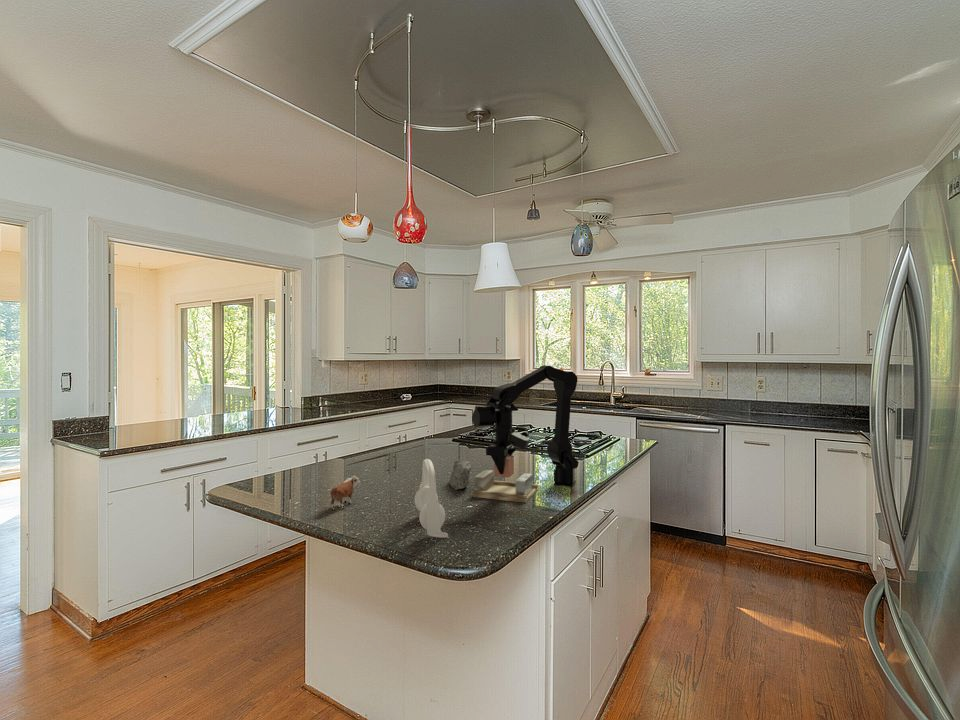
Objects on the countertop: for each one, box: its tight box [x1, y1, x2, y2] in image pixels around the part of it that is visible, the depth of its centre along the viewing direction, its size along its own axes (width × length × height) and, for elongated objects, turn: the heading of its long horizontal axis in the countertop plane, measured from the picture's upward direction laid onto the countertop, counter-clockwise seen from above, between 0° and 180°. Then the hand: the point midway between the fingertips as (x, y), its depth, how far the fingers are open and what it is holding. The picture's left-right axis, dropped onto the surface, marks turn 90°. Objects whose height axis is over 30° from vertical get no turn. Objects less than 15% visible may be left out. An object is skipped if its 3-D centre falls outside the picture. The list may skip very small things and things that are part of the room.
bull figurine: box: [330, 475, 361, 508], centre depth 155 cm, size 4×13×8 cm, turn 161°
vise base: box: [471, 469, 539, 503], centre depth 165 cm, size 18×14×6 cm
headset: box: [414, 458, 449, 539], centre depth 136 cm, size 20×7×18 cm, turn 12°
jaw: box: [515, 472, 534, 495], centre depth 163 cm, size 3×10×5 cm, turn 158°
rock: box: [449, 459, 472, 491], centre depth 175 cm, size 15×8×10 cm, turn 178°
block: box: [494, 455, 515, 478], centre depth 165 cm, size 5×5×6 cm
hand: (504, 471), depth 165 cm, fingers closed on block, 5 cm apart
